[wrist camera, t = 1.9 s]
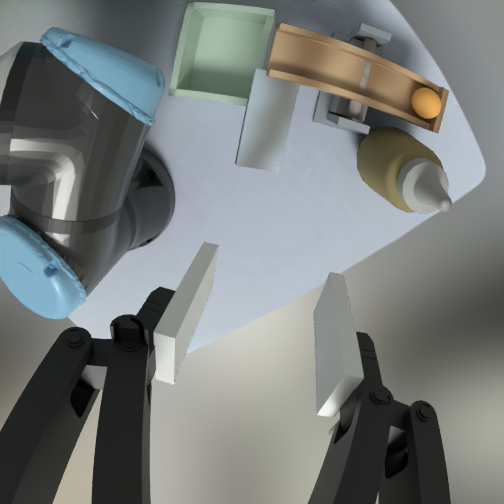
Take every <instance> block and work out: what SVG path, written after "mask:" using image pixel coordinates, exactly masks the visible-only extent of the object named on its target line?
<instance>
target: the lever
mask: <svg viewBox="0 0 504 504" xmlns="http://www.w3.org/2000/svg"><path fill="white" fill-rule="evenodd" d="M376 44H377V42H376V41H374V40H372V39H365V40H364V45H363V49H361V48H358V47H356V46H353V45H351V44H348V43H345V42H343V41H340V40H337V39H334V38H331V37H328V36H325V35H322V34H319V33H316V32H313V31H309V30H306V29H303V28H299V27H295V26H292V25H288V24H284V23H280V24H279V25H278V26H276V27H275V32H274V36H273V40H272V45H271V49H270V53H269V58H268V62H267V67H266V70H261V69H254V73H253V78H252V82H251V87H250V91H249V96H248V101H247V106H246V111H245V115H244V120H243V125H242V130H241V135H240V140H239V145H238V150H237V155H236V161H235V164H236V165H238V166H244V167H251V168H257V169H263V170H269V171H275V172H279V169H280V165H281V161H282V156H283V152H284V148H285V144H286V140H287V135H288V131H289V127H290V123H291V118H292V114H293V110H294V106H295V101H296V97H297V93H298V89H299V85H303V86H307V87H310V88H314V89H317V90H321V91H324V92H328V93H331V94H334V95H337V96H341V97H344V98H347V99H350V104H349V108H348V112H347V116H349V117H352V118H355V119H358V120H359V116H360V112H361V108H362V104H364V105H367V106H370V107H373V108H375V109H378V110H381V111H383V112H386V113H388V114H391V115H393V116H396V117H398V118H401V119H403V120H405V121H408V122H410V123H412V124H415V125H417V126H419V127H421V128H424V129H427V130H430V131H432V132H435V133H438V132H439V129H440V125H441V121H442V118H443V114H444V110H445V106H446V102H447V97H448V93H449V90H447V89H445V88H443V87H439V86H437V85H435V84H434V83H432V82H430V81H428V80H426V79H425V78H423V77H421V76H419V75H417V74H415V73H413V72H411V71H409V70H407V69H405V68H403V67H401V66H399V65H397V64H395V63H393V62H391V61H389V60H387V59H384V58H382V57H380V56H378V55H375V49H376ZM420 88H429V89H431V90H433V91H434V92H436V93H437V95H438V96H439V98H440V100H441V110H440V112H439V114H438V115H437V116H436V117H434V118H429V119H428V118H423V117H421V116H419V115H418V114H417V113H416V112H415V111H414V109H413V107H412V104H411V98H412V95H413V93H414V92H415V91H416V90H417V89H420Z"/></svg>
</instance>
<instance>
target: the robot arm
mask: <svg viewBox="0 0 504 504" xmlns="http://www.w3.org/2000/svg"><path fill="white" fill-rule="evenodd" d="M40 41H41V42H42V43H33V42H19V43H18V44H16V45H15V46H14V47H12V48H11V49H10V50H8V51H7V52H6V53H5V54H3V55H2V56H0V185H11V197H10V210H9V213H8V214H7V215H4V216H1V217H0V277H1V279H2V280H3V281H4V283H5V284H6V286H7V287H8V288H9V290H10V291H11V292H12V293H13V294H14V295H15V296H16V297H17V298H18V300H19V301H21V302H22V303H23V304H24V305H25V306H27V307H28V308H29V309H31V310H32V311H33V312H35V313H37V314H39V315H41V316H43V317H46V318H50V319H62V318H65V317H67V316H69V315H70V314H71V313H72V312H73V311H74V310H75V309H76V308H77V307H78V306H79V305H81V304H83V303H84V302H85V300H86V297H87V296H88V295H89V294H90V293H91V292H92V290H93V289H94V288H95V287H96V286H97V285H98V283H99V282H100V281H101V280H102V279H103V278H104V276H105V275H106V274H107V273H108V272H109V271H110V270H111V269H112V267H113V266H114V265H115V264H116V263H117V262H118V261H119V260H120V259H121V257H122V256H123V255H124V254H125V253H126V252H128V251H131V250H134V249H136V248H139V247H142V246H145V245H147V244H149V243H151V242H152V241H154V240H155V239H156V238H157V237H158V236H159V235H160V234H161V233H162V232H163V231H164V230H165V229H166V227H167V226H168V224H169V223H170V221H171V218H172V216H173V212H174V207H175V193H174V187H173V184H172V181H171V178H170V176H169V174H168V172H167V170H166V168H165V167H164V166H163V164H162V163H161V162H160V161H159V160H158V159H157V158H156V157H155V156H154V155H153V154H151V153H150V152H149V151H147V150H145V149H143V145H144V142H145V140H146V137H147V135H148V132H149V130H150V127H151V126H153V124H154V121H155V120H154V115H155V112H156V109H157V106H158V104H159V101H160V98H161V96H162V93H163V90H164V86H165V80H164V76H163V74H162V72H161V70H160V69H159V68H158V67H156V66H155V65H153V64H151V63H149V62H147V61H145V60H143V59H141V58H139V57H137V56H134V55H132V54H130V53H127V52H125V51H123V50H120V49H118V48H115V47H113V46H110V45H108V44H105V43H103V42H100V41H97V40H94V39H92V38H89V37H86V36H83V35H80V34H76V33H73V32H70V31H66V30H63V29H60V28H56V27H52V28H50V29H48V30H47V31H46V33H45V34H44V35H42V37H41V40H40ZM218 247H219V245H215V244H211V243H207V242H204V243H203V245H202V246H201V248H200V250H199V251H198V253H197V255H196V257H195V258H194V260H193V262H192V264H191V265H190V267H189V269H188V271H187V272H186V274H185V276H184V278H183V279H182V281H181V283H180V285H179V287H178V288H177V290H176V291H174V290H170V289H166V288H163V287H159V288H157V289H156V290H154V291H153V292H151V293H150V295H149V296H148V298H147V300H146V302H145V303H144V304H143V306H142V308H141V309H140V310H139V312H138V314H137V315H136V316H135V315H131V314H130V315H122V316H119V317H117V318H115V319H114V320H113V321H112V322H111V324H110V331H111V337H112V339H97V338H92V337H91V334H90V333H89V332H88V331H87V330H85V329H84V328H80V327H71V328H68V329H67V330H64V331H63V332H62V333H61V334H60V336H59V337H58V338H57V340H56V342H55V343H54V344H53V346H52V347H51V349H50V350H49V352H48V353H47V355H46V356H45V358H44V359H43V361H42V362H41V364H40V365H39V367H38V368H37V370H36V371H35V373H34V375H33V376H32V378H31V379H30V381H29V383H28V384H27V386H26V387H25V389H24V391H23V392H22V394H21V396H20V397H19V399H18V401H17V403H16V404H15V406H14V408H13V409H12V411H11V413H10V415H9V417H8V419H7V420H6V422H5V424H4V426H3V428H2V429H1V431H0V504H52V503H53V500H54V498H55V495H56V492H57V490H58V487H59V484H60V482H61V479H62V477H63V474H64V471H65V469H66V467H67V464H68V461H69V459H70V457H71V454H72V452H73V449H74V447H75V445H76V442H77V440H78V438H79V435H80V433H81V431H82V429H83V426H84V424H85V422H86V420H87V417H88V415H89V413H90V411H91V409H92V407H93V404H94V402H95V400H96V398H97V396H98V393H99V392H100V390H101V389H103V394H102V400H101V406H100V414H99V421H98V429H97V437H96V446H95V456H94V467H93V482H92V504H151V501H150V455H149V454H150V411H151V390H152V385H151V380H152V378H153V376H154V374H155V376H156V379H157V380H161V381H164V382H167V383H170V384H173V385H174V383H175V381H176V378H177V376H178V373H179V370H180V368H181V365H182V363H183V360H184V358H185V355H186V352H187V350H188V347H189V345H190V342H191V340H192V337H193V335H194V332H195V330H196V327H197V325H198V322H199V320H200V317H201V315H202V312H203V310H204V307H205V305H206V302H207V300H208V297H209V295H210V292H211V290H212V285H213V278H214V272H215V266H216V259H217V253H218ZM314 332H315V359H316V402H317V403H316V411H317V412H316V414H317V415H321V416H331V417H334V416H335V415H336V414H337V413H338V411H339V410H340V419H339V421H338V422H337V423H336V424H335V425H334V426H333V428H332V429H331V430H330V432H329V434H331V433H332V432H333V431H334V432H333V435H332V438H331V441H330V445H329V448H328V451H327V454H326V457H325V459H324V462H323V465H322V468H321V471H320V473H319V476H318V479H317V482H316V484H315V487H314V490H313V492H312V494H311V497H310V499H309V502H308V504H375V503H376V498H377V495H378V491H379V504H451V502H450V492H449V483H448V476H447V469H446V462H445V456H444V450H443V445H442V439H441V434H440V429H439V425H438V420H437V415H436V412H435V410H434V408H433V407H432V406H431V405H430V404H429V403H427V402H425V401H421V400H420V401H416V402H414V403H413V404H412V405H411V406H408V405H406V404H403V403H400V402H398V401H395V400H394V399H393V396H392V394H391V392H390V391H389V390H388V389H387V388H386V387H384V386H383V384H382V379H381V374H380V370H379V365H378V361H377V356H376V353H375V348H374V343H373V341H372V340H371V338H370V337H369V336H368V334H366V333H361V332H356V330H355V325H354V320H353V315H352V310H351V305H350V300H349V296H348V291H347V287H346V283H345V278H344V275H341V274H337V273H332V272H330V273H329V276H328V278H327V281H326V283H325V286H324V288H323V291H322V294H321V296H320V298H319V301H318V303H317V306H316V308H315V310H314Z"/></svg>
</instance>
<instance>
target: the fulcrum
mask: <svg viewBox="0 0 504 504" xmlns="http://www.w3.org/2000/svg"><path fill="white" fill-rule="evenodd" d="M391 37H392V34H391V33H388V32H386V31H383V30H380V29H378V28H375V27H372V26H369V25H366V24H364V23H361V24H360V25H359V26H358V27H357V28H356V29H355V30H354V31H353V32H352V33H351V35H350V36H347V35H344V34H341V33H337V32H334V33H333V38H334V39H337V40H340V41H343V42H345V43H348V44H351V45H353V46H356V47H358V48H361V49H363V45H364V40H365V39H372V40H374V41H376V42H377V44H376V49H375V55H378V56H380V55H381V50H382V47H381V46H382V45H384V44H386V43H388V42H390V41H391ZM349 104H350V99H347V98H344V97H341V96H337V95H334V94H331V93H328V92H324V91H321V90H320V94H319V98H318V102H317V106H316V110H315V114H314V118H313V121H314V122H318V123H321V124H325V125H328V126H332V127H335V128H339V129H342V130H345V131H349V132H352V133H355V134H358V135H361V132H362V133H365V134H368V133H369V129H370V126H367V125H364V121H365V117H366V113H367V109H368V106H367V105H364V104H362V108H361V112H360V116H359V120H358V119H355V118H352V117H349V116H347V112H348V108H349Z"/></svg>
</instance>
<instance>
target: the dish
mask: <svg viewBox="0 0 504 504" xmlns="http://www.w3.org/2000/svg"><path fill="white" fill-rule="evenodd" d="M276 25H277V17H276V13H275V10H272V9H266V8H259V7H251V6H243V5H233V4H221V3H204V2H188V4H187V8H186V12H185V16H184V20H183V24H182V28H181V32H180V37H179V41H178V46H177V51H176V56H175V61H174V66H173V71H172V77H171V82H170V88H169V94H168V95H173V96H182V97H191V98H198V99H206V100H213V101H219V102H225V103H231V104H237V105H243V106H247V101H248V96H249V91H250V87H251V82H252V78H253V73H254V69H261V70H266V67H267V62H268V58H269V53H270V49H271V45H272V40H273V36H274V32H275V27H276Z"/></svg>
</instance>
